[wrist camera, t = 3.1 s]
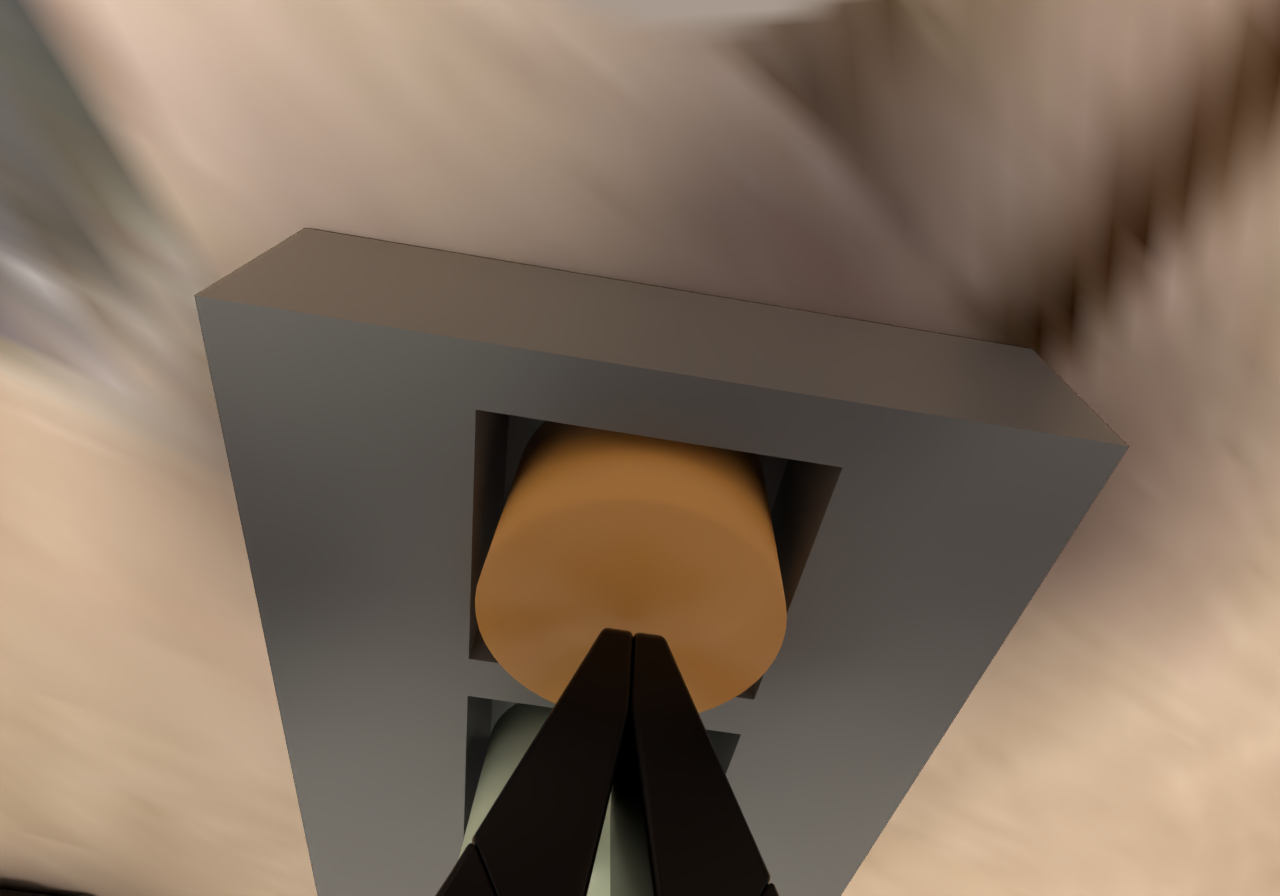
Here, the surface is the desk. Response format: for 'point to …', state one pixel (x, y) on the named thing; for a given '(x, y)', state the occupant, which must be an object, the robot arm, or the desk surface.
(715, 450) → the button orange
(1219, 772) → the desk surface
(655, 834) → the robot arm
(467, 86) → the desk surface
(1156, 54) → the desk surface
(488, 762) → the button sage
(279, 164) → the desk surface
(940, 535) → the grey compartment tray
